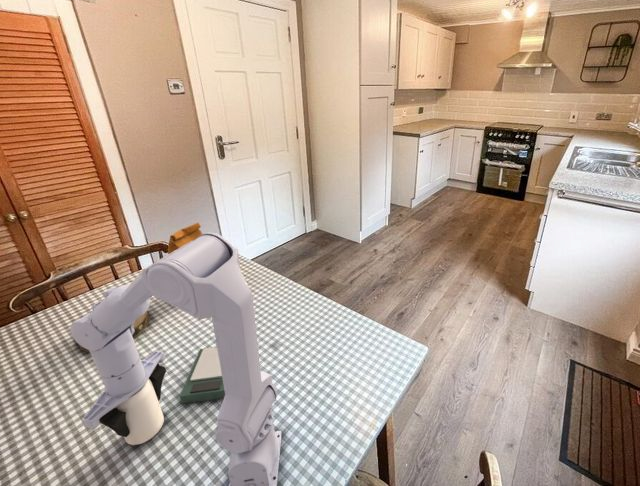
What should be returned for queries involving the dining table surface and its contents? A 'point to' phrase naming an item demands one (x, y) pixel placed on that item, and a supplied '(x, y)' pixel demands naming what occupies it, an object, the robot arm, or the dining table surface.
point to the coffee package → (184, 237)
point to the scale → (204, 378)
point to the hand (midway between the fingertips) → (140, 415)
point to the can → (142, 415)
